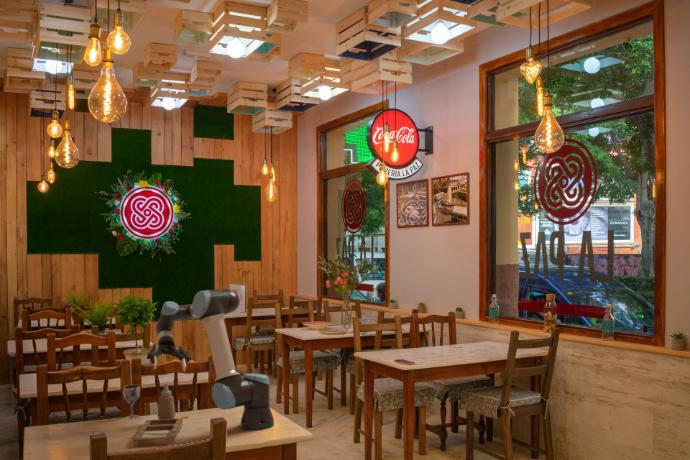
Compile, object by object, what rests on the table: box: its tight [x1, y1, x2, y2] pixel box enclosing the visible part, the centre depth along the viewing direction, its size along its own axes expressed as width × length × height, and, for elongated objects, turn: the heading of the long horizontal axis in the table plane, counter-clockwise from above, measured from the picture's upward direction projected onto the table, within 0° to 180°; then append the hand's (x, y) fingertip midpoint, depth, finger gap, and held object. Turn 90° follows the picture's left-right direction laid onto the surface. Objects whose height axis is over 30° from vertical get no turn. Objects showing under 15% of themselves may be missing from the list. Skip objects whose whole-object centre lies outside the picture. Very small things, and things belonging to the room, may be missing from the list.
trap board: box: [132, 417, 183, 448], centre depth 285 cm, size 32×16×3 cm, turn 7°
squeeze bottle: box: [157, 383, 176, 420], centre depth 307 cm, size 8×8×18 cm
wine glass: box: [122, 384, 141, 420], centre depth 319 cm, size 8×8×15 cm
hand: (170, 368), depth 304 cm, fingers open, 13 cm apart
